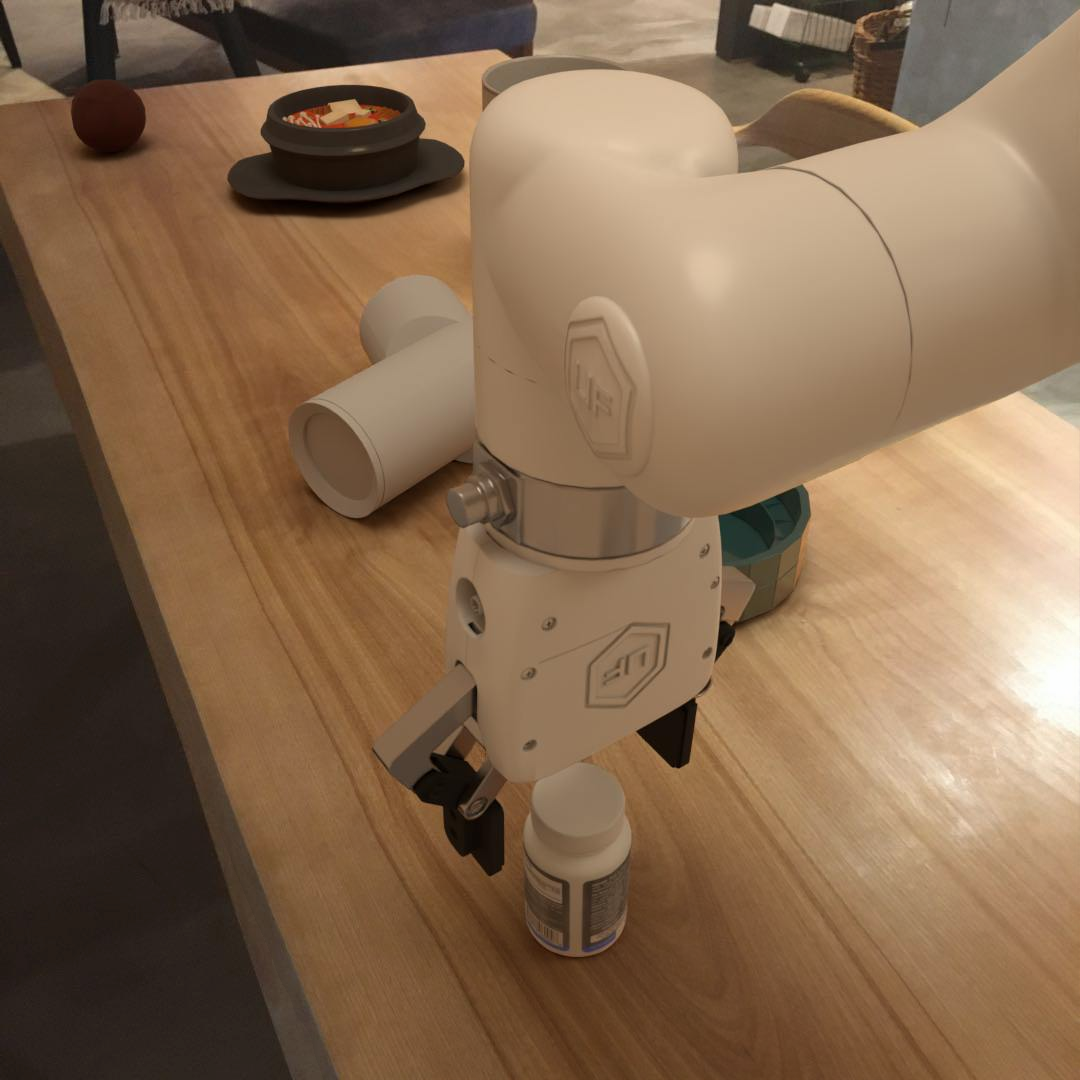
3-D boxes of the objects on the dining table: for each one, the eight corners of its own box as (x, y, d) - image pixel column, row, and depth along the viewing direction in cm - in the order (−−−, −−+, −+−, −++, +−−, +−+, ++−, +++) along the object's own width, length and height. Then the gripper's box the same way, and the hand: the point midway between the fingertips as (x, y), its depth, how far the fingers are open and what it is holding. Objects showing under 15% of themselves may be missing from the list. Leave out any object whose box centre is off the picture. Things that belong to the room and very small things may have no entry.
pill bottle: (621, 871, 57) (630, 753, 52) (630, 959, 53) (640, 841, 48) (522, 874, 57) (521, 755, 51) (524, 961, 53) (523, 843, 48)
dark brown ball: (167, 139, 137) (153, 70, 132) (127, 167, 130) (111, 96, 125) (104, 133, 138) (88, 65, 134) (61, 161, 131) (43, 90, 126)
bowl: (846, 585, 74) (859, 521, 71) (658, 664, 68) (664, 598, 65) (710, 473, 83) (716, 412, 80) (536, 534, 78) (536, 471, 75)
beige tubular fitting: (585, 475, 81) (489, 344, 95) (555, 347, 74) (457, 227, 88) (344, 577, 78) (284, 426, 93) (289, 454, 71) (233, 312, 86)
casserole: (241, 233, 116) (227, 148, 111) (221, 167, 130) (208, 89, 125) (485, 203, 122) (483, 121, 117) (441, 144, 136) (438, 68, 131)
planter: (458, 272, 109) (449, 73, 98) (562, 235, 116) (565, 45, 105) (550, 321, 101) (552, 112, 90) (656, 278, 108) (670, 79, 97)
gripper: (422, 631, 33) (444, 966, 44) (851, 439, 41) (781, 763, 52) (303, 498, 38) (349, 830, 49) (708, 349, 46) (671, 663, 57)
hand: (572, 795), depth 50 cm, fingers open, 9 cm apart
